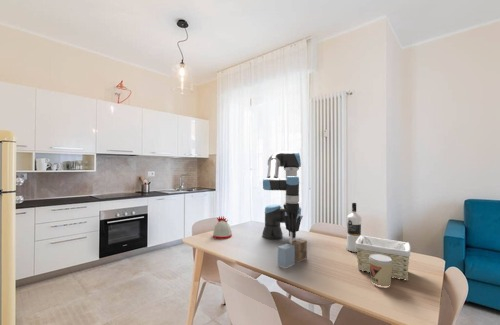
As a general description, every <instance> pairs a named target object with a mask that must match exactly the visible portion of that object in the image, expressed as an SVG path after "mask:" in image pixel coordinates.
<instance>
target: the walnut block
mask: <svg viewBox="0 0 500 325" xmlns="http://www.w3.org/2000/svg"><path fill="white" fill-rule="evenodd" d="M290 245H294V246H295V261H294V262H297V263H300V262H302V261H304V260H307V258H308V252H307V251H308V250H307V249H308V247H307V246H308V241H307V240H305V239H301V238H299V239H295V241H293V242H291V243H290Z"/></svg>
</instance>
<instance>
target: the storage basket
mask: <svg viewBox="0 0 500 325" xmlns="http://www.w3.org/2000/svg"><path fill="white" fill-rule="evenodd" d="M355 244H356V249H357V253H356V259H357V269H358V271H360V270H363V271H367V272H366V273H369V272H370V259H369V257H370V255H371V254H381V255H385V256H388V257H390V258H391V259H392V261H393V263H392V273H391V277H396V278H400V279H406V280H407V281H408V280H409V264H410V257H411V244H410V242H406V241H401V240H400V241H399V240H393V239H387V238H379V237H375V236H374V237H373V236H369V235H362V234H361V236H360V237H359V238H358V239H357V241H356V242H355ZM363 271H362V272H363ZM400 279H399V280H400Z"/></svg>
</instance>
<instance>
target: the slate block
mask: <svg viewBox="0 0 500 325" xmlns="http://www.w3.org/2000/svg"><path fill="white" fill-rule="evenodd" d="M295 262H296V261H295V246H294V245H291V243H285V244H282V245H280V246H277V266H278V267H280V268H283V269H288V268H290V267H292V266H293V265H295Z"/></svg>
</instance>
